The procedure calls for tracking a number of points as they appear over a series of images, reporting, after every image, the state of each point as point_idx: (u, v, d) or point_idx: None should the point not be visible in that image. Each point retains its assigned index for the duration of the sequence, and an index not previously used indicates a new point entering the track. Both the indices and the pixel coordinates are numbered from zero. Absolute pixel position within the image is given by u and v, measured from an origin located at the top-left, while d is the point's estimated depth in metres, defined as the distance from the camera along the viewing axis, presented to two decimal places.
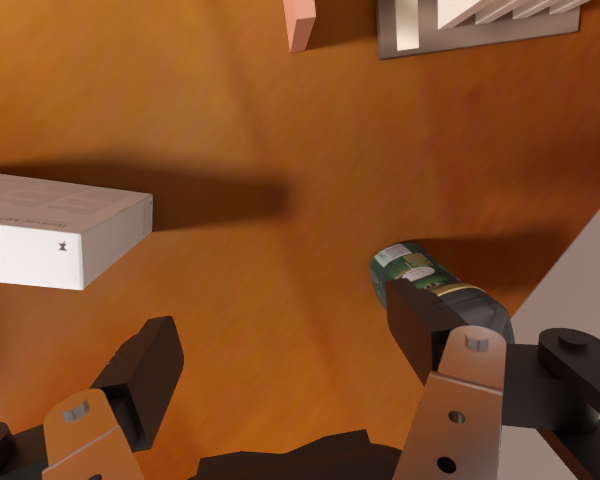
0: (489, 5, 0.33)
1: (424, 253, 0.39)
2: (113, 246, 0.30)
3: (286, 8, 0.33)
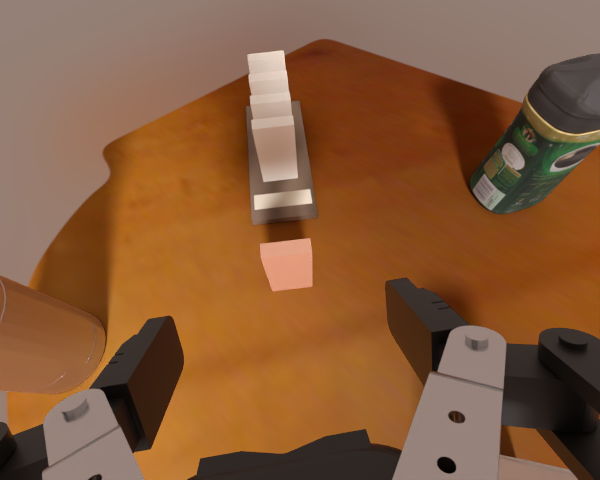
0: None
1: (483, 163, 0.43)
2: None
3: (283, 283, 0.38)
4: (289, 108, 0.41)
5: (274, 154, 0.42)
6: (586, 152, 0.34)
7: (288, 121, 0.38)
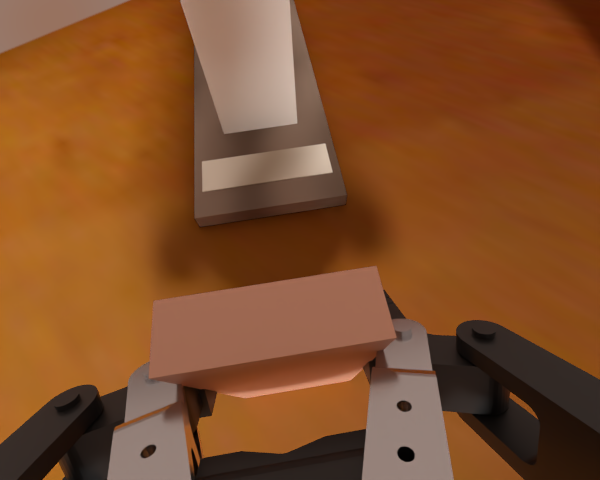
0: None
1: None
2: None
3: (273, 389, 0.13)
4: None
5: (239, 51, 0.17)
6: None
7: None
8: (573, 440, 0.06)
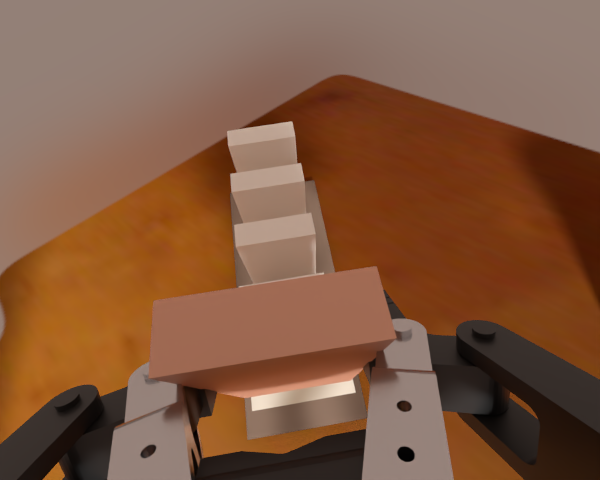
0: None
1: None
2: None
3: (273, 389, 0.13)
4: (312, 243, 0.21)
5: None
6: None
7: None
8: (573, 440, 0.06)
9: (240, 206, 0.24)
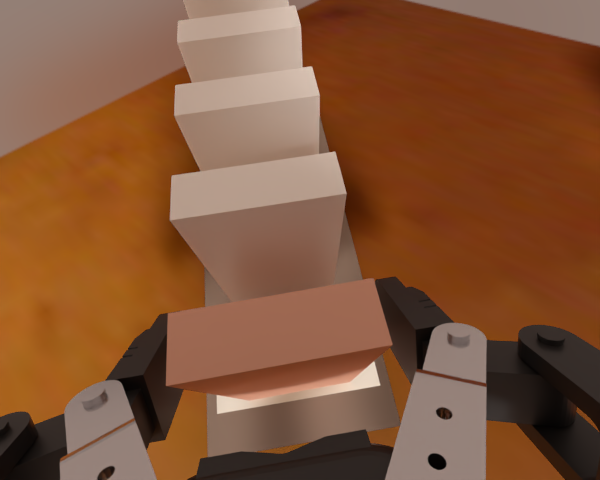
0: None
1: None
2: None
3: (277, 391, 0.14)
4: (313, 123, 0.12)
5: (267, 271, 0.13)
6: None
7: (320, 179, 0.09)
8: None
9: None
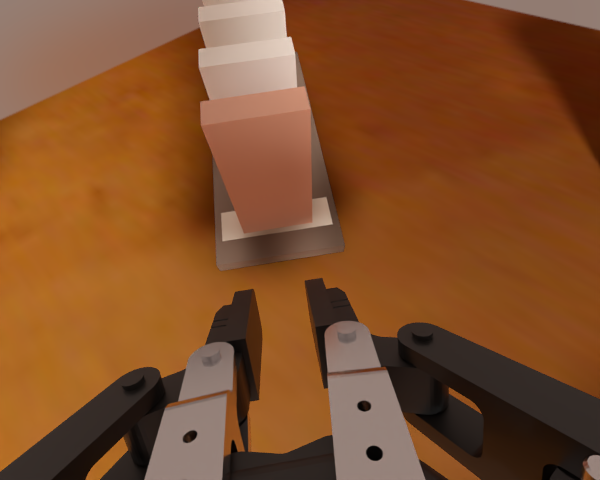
0: None
1: None
2: None
3: (261, 211, 0.21)
4: (282, 32, 0.20)
5: None
6: None
7: (281, 48, 0.17)
8: (515, 428, 0.06)
9: None
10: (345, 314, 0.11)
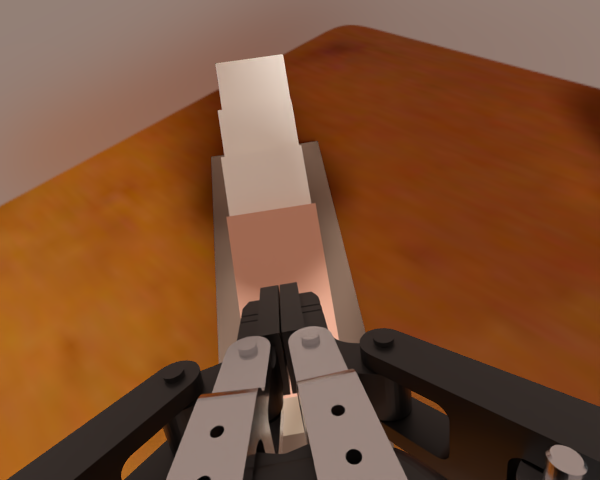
0: None
1: None
2: None
3: None
4: (290, 117, 0.22)
5: None
6: None
7: None
8: (479, 426, 0.06)
9: (221, 86, 0.24)
10: (315, 319, 0.11)
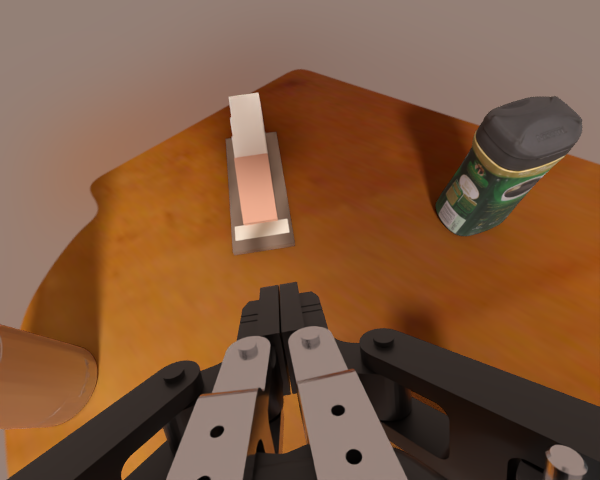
0: None
1: (445, 190, 0.46)
2: None
3: (252, 206, 0.47)
4: (260, 120, 0.52)
5: None
6: (531, 183, 0.38)
7: None
8: (479, 426, 0.06)
9: (231, 106, 0.54)
10: (315, 319, 0.11)
